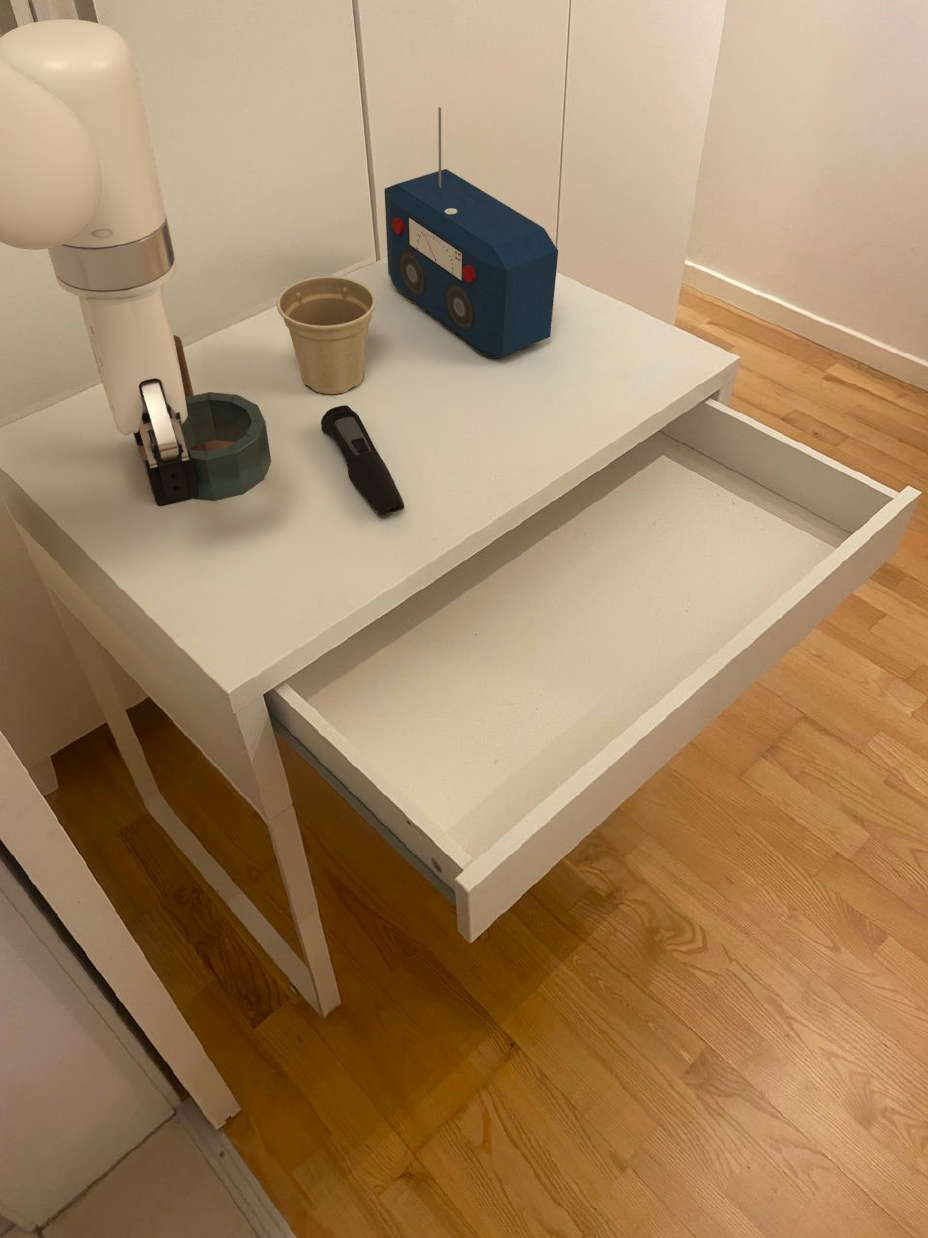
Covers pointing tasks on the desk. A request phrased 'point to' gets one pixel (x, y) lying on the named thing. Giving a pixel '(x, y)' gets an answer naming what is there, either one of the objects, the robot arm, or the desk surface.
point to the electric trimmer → (362, 460)
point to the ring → (228, 465)
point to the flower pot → (328, 330)
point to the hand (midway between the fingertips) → (166, 467)
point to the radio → (471, 261)
